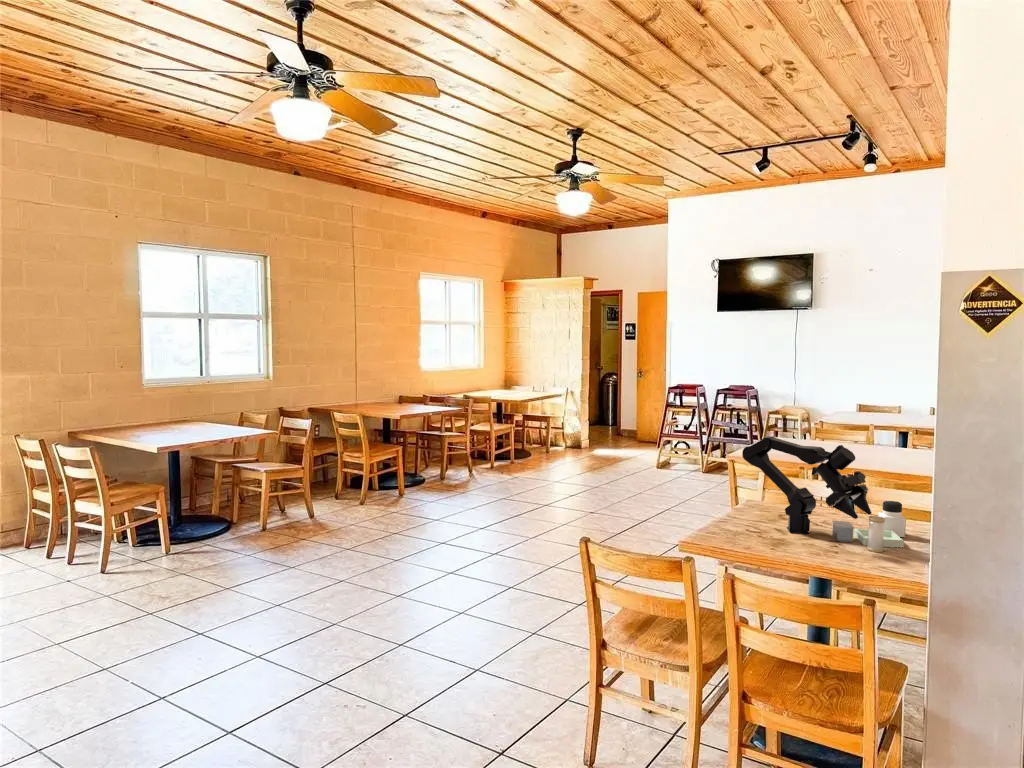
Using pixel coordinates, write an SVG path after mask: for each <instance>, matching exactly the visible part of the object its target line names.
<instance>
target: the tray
mask: <svg viewBox="0 0 1024 768" xmlns="http://www.w3.org/2000/svg"><path fill="white" fill-rule="evenodd" d="M868 535H869V528H855V527H854V528H853V537H855V538H856V539H857V540H858V541H859V542H860V543H861V544H862V545H863V546H865V545H867V547H868ZM904 546H905V540H904V539H903V538H900V537H899V536H898V535H897V534H896V533H895V532H893V531H887V530H884V536H883V548H894V547H897V548H898V547H901V548H900V549H904ZM902 547H903V548H902ZM897 548H896V549H897ZM898 549H899V548H898Z"/></svg>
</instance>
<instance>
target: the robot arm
mask: <svg viewBox="0 0 1024 768" xmlns="http://www.w3.org/2000/svg"><path fill="white" fill-rule="evenodd" d="M771 450H774V451H778V452H782V453H785V454H787V455H790V456H795V457H796V458H798V459H799V460H800V461H801V462H804V463H805V464H808V465H810V466H811V465H818V464H819V465H818V466H813V467H812V471H811V476H815V475H819V476H820V477H821V479H822V480H823V482H825V483H826V485H825V487H826V489H830V490H831V492H832V493H831V494H829V495H828V496H826V498H825V503H826V504H827V506H828V507H832V508H833V509H835V510H838V511H840V512H842V513H844V514H846V515H847V516H850V517H851V518H853V519H855V520H857V519H858V518H859V516H858V514H857V512H856V511H855V510H854V508H853V506H852V505H851V504H850V501H851V503H852V504H854V505H855V506H856V507H857V508H859V509H860V510H861V511H862V512H864V513H865V514H867V515H868V516H869V515H870V516H871V514H872V510H871V508H870V506H869V502H868V501H867V494H868V491H869V488H868V487H867V486H866V485H865V484H864V483H866V482H867V481H866V477H867V476H866V475H865V474H864V473H863V472H862V471H856V472H853V475H851V476H847V475H845V474H841V473H840V471H844V470H845V469H846V468H847V467H849V465H851V464H852V463H853V462H854V461H856V456H855V454H854V452H853V451H851V450H850V449H849V448H847V447H845V446H843V445H842V444H840V445H838V446H836V447H835V449H834V450H833V451H831V452H830V451H827V450H825V448H823V447H822V446H815V445H814V446H812V445H802V444H797V443H794V442H791V441H787V440H784V439H780V438H778V437H775V436H773V435H772V436H771V435H770V436H765V437H763V438H762V439H760V440H758V441H757V442H755V443H753V444H751V445H749V446H744V448H743V449H742V458H743V460H744V461H746V462H747V463H748V464H750V465H751V466H754V467H755V468H757V469H759V470H761V471H762V472H763V474H765V475H766V477H768V478H769V480H771V482H772V483H774V484H775V486H776V487H778V489H779V490H780V491H781V492H782V493H784V494H785V496H786V499H787V502H788V504H789V505H788V506H786V507H785V509H784V512H785V515H786V516H788V522H787V523H788V525H787V527H786V529H787V531H788V532H789V533H790V534H804V535H809V534H810V528H811V520H810V519H809V515H812V512H813V510H815V508H816V506H817V500H816V498H815V497H814V496H815V495H814V493H811V492H810V490H809V489H808V488H807V487H801V488H799V487H798V486H796V485H795V484H794V482H793V481H791V480H790V479H789V478H788V477H787V476H786V475H785V474H784V473H783V472H782V471H781V470H780V469H779V468H778V467H777V466H776V465H775V464H774V463H773V462H772V461H771V460H770V456H769V454H768V453H769V452H771ZM825 461H826V462H825Z"/></svg>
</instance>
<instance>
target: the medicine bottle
mask: <svg viewBox="0 0 1024 768" xmlns="http://www.w3.org/2000/svg"><path fill="white" fill-rule="evenodd" d="M902 512H903V504H902V502H900V501H897V500H885V501H883V502H882V512H881V511H880V512H878V513H877V514H878V515H877V516H879V517H883V518H885V522H884V530H887V531H893V532H895V533H896V534H897V535H898V536H899V537H905V538H906V525H907V523H906V521H907V519H906V517H904V515H902V514H903V513H902Z"/></svg>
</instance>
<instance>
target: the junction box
mask: <svg viewBox="0 0 1024 768" xmlns="http://www.w3.org/2000/svg"><path fill="white" fill-rule="evenodd" d="M854 529H855V527H854V525H853V524H851V522H850V521H843V520H842V521H841V520H832V535H831V536H832V537H833V539H836V540H835V541H836V542H837V541H840V543H851V544H852V543H853V541H854Z"/></svg>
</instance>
